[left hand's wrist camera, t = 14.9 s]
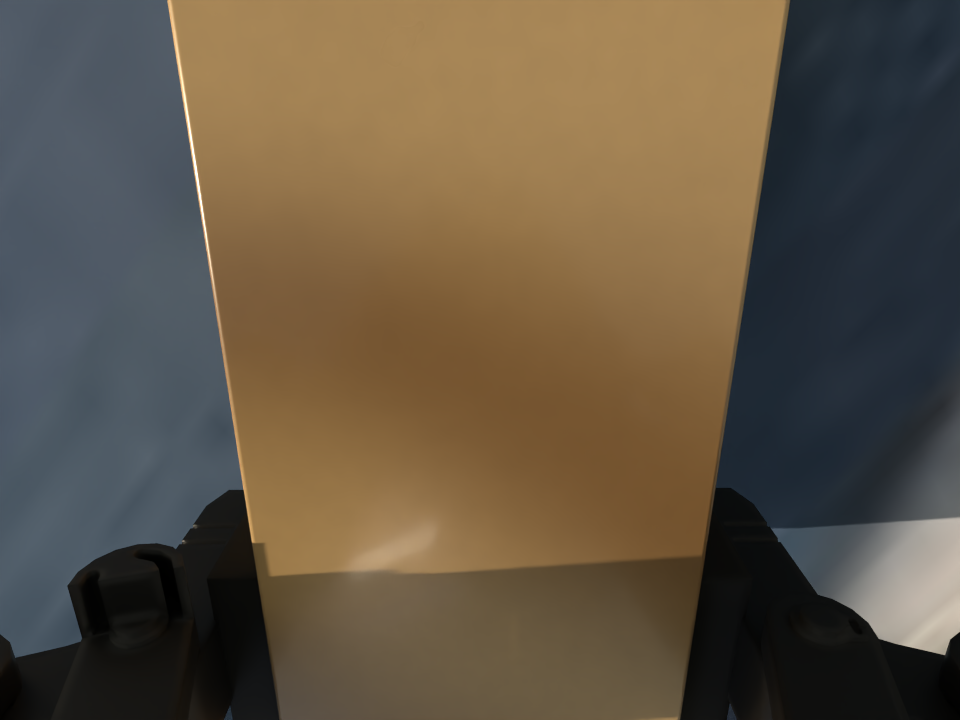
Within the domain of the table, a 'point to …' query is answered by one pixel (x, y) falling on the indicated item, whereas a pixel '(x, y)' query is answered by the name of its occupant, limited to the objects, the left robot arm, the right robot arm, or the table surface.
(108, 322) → the table surface
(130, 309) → the table surface
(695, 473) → the board
